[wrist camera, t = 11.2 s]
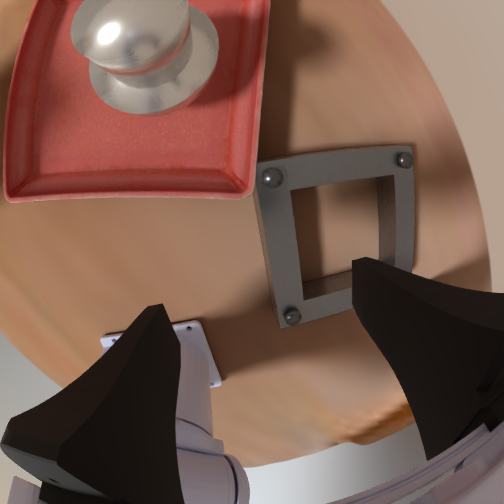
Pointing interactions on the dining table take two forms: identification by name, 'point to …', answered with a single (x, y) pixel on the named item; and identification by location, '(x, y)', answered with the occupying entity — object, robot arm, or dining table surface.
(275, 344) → the dining table surface
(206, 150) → the plant saucer
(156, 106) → the end cover
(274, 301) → the bore housing
